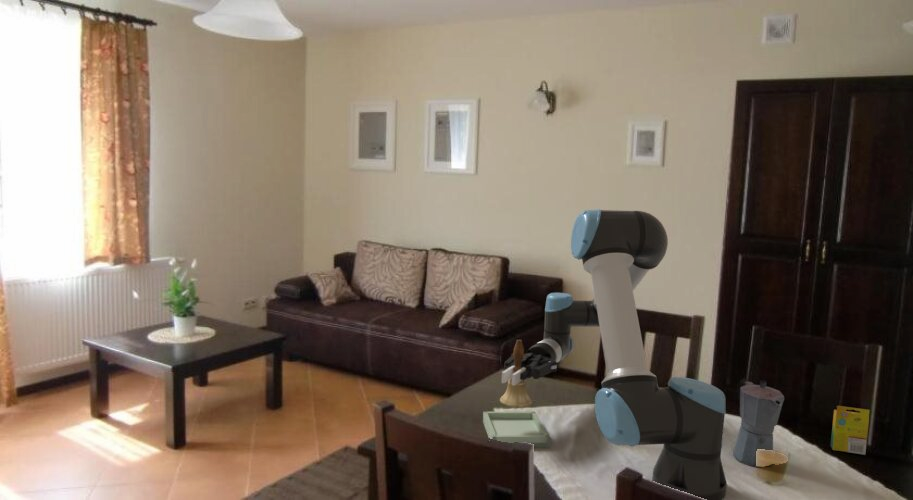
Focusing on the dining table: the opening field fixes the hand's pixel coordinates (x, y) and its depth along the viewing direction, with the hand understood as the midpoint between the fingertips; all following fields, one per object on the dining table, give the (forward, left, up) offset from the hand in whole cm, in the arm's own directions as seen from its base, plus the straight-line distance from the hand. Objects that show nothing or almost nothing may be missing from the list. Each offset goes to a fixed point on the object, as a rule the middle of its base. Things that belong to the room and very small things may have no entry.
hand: (508, 378), depth 157 cm
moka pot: (-11, -58, -16) cm, 61 cm away
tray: (+4, -3, -16) cm, 17 cm away
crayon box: (-7, -86, -16) cm, 88 cm away
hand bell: (+5, -3, -8) cm, 10 cm away
